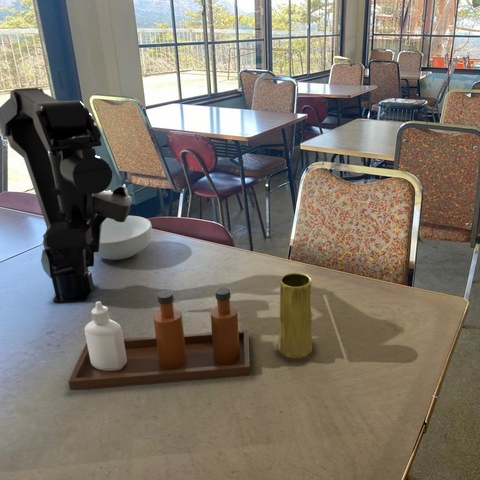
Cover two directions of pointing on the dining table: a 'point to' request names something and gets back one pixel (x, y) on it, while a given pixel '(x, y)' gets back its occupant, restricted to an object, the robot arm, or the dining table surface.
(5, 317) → the dining table surface
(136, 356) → the tray
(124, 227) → the cereal bowl
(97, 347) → the eye dropper bottle
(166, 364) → the amber bottle
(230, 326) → the amber bottle
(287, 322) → the vase
